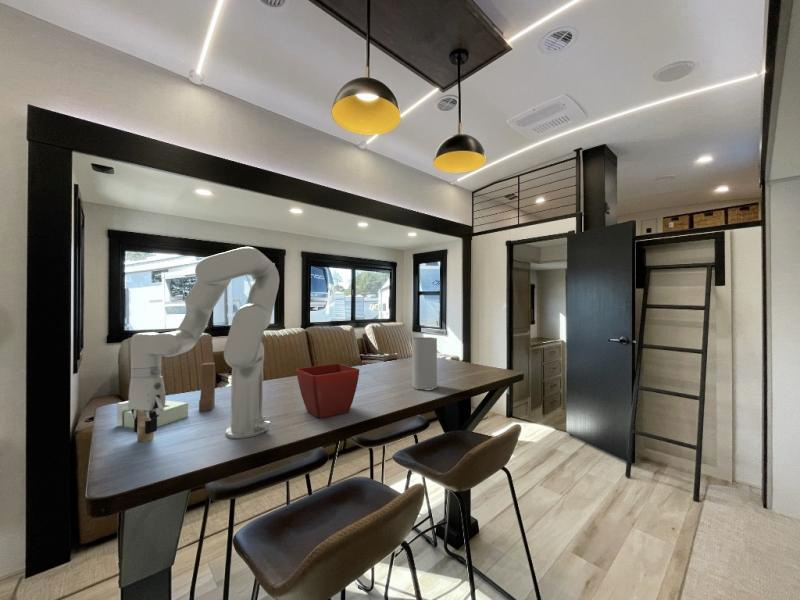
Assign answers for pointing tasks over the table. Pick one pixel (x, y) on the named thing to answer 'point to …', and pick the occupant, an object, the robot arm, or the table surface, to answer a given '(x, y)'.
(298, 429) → the table surface
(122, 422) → the backstop board
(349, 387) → the plant pot
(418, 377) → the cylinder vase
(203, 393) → the wooden block
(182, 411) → the socket block
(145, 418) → the wooden dowel
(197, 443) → the table surface
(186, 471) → the table surface
